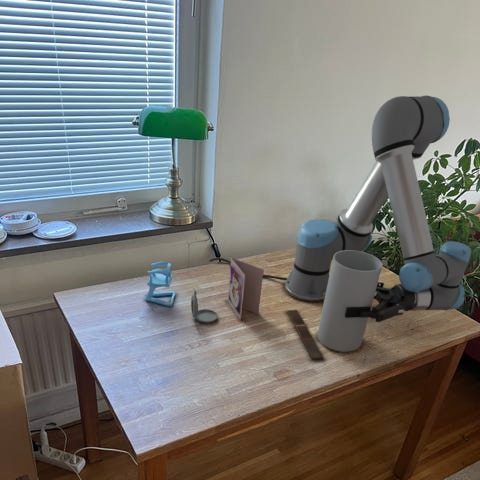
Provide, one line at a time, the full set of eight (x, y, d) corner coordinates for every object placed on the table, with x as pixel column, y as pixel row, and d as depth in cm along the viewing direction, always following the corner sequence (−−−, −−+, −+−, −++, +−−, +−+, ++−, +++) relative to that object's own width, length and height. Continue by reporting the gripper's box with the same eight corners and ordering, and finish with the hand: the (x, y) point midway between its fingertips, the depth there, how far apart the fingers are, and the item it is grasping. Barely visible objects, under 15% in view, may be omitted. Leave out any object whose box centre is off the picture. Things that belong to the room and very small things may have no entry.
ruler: (287, 312, 145) (287, 310, 144) (296, 312, 145) (296, 309, 145) (312, 360, 125) (312, 357, 125) (322, 359, 126) (323, 357, 125)
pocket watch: (221, 318, 139) (224, 289, 133) (200, 329, 133) (202, 298, 128) (202, 307, 143) (204, 278, 138) (181, 317, 138) (182, 287, 132)
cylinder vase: (309, 331, 137) (324, 252, 124) (345, 325, 141) (364, 248, 128) (331, 356, 127) (350, 273, 114) (369, 349, 132) (392, 268, 118)
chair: (149, 291, 149) (148, 257, 142) (175, 294, 149) (175, 259, 142) (144, 304, 142) (143, 268, 136) (171, 306, 142) (171, 271, 136)
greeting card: (225, 301, 147) (228, 257, 139) (246, 298, 150) (251, 255, 142) (237, 320, 139) (242, 275, 130) (260, 317, 141) (266, 272, 133)
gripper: (428, 333, 123) (351, 337, 118) (385, 287, 143) (319, 289, 139) (436, 309, 119) (358, 311, 114) (392, 265, 139) (323, 266, 134)
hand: (336, 299), depth 126 cm, fingers closed on cylinder vase, 12 cm apart
